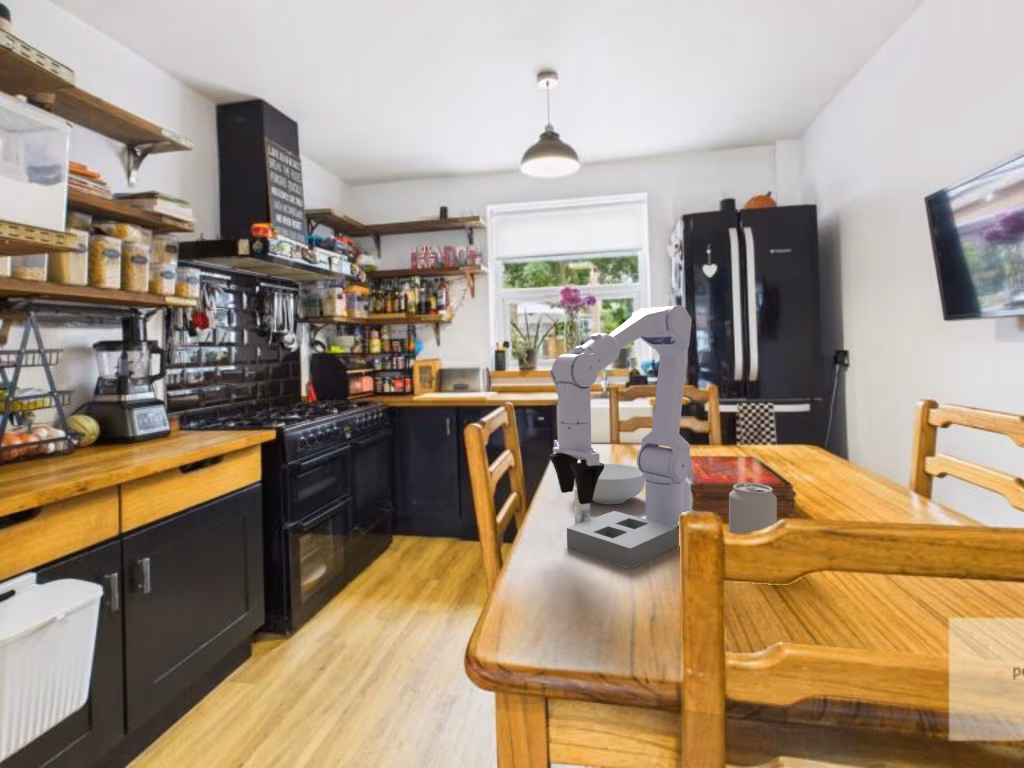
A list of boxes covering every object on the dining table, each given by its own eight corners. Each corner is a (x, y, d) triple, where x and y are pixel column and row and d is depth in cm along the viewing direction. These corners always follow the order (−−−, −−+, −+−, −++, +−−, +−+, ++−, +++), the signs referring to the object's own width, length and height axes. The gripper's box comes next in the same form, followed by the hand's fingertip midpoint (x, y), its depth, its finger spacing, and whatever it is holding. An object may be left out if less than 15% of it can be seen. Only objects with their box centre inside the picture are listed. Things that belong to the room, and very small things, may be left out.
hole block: (614, 527, 107) (614, 510, 107) (676, 546, 97) (676, 527, 97) (567, 546, 98) (566, 527, 98) (630, 569, 88) (630, 548, 87)
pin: (581, 525, 109) (581, 487, 109) (593, 529, 107) (592, 490, 106) (571, 529, 107) (571, 490, 107) (583, 533, 105) (582, 493, 104)
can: (748, 565, 88) (749, 494, 87) (719, 549, 95) (720, 483, 94) (786, 559, 90) (787, 489, 89) (754, 543, 97) (755, 479, 96)
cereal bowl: (640, 490, 134) (640, 462, 134) (650, 510, 118) (650, 479, 117) (572, 490, 136) (572, 462, 136) (573, 510, 120) (573, 479, 119)
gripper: (538, 418, 100) (540, 489, 101) (571, 429, 86) (573, 511, 87) (572, 415, 102) (574, 485, 103) (610, 426, 88) (611, 506, 90)
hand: (576, 497), depth 95 cm, fingers open, 7 cm apart
